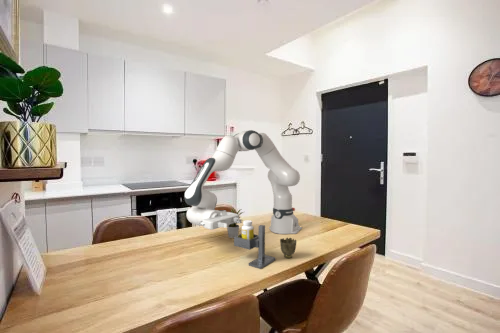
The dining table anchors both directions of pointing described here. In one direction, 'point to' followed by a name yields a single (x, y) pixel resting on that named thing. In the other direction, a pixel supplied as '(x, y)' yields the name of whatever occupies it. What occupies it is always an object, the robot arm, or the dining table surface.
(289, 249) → the cup
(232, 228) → the house plant
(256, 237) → the cup bracket
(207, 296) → the dining table surface
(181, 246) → the dining table surface
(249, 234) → the supplement bottle
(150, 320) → the dining table surface
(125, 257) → the dining table surface
